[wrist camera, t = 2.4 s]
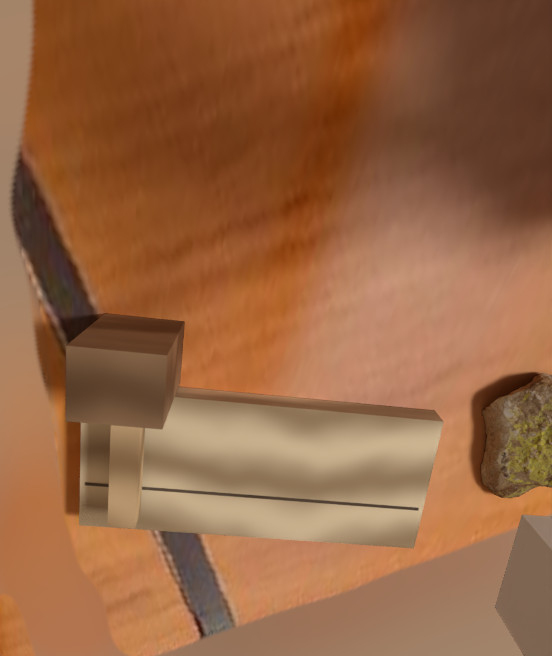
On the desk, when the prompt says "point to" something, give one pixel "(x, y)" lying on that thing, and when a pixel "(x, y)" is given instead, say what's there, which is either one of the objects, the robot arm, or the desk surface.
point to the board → (275, 469)
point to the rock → (519, 440)
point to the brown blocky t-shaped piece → (124, 394)
